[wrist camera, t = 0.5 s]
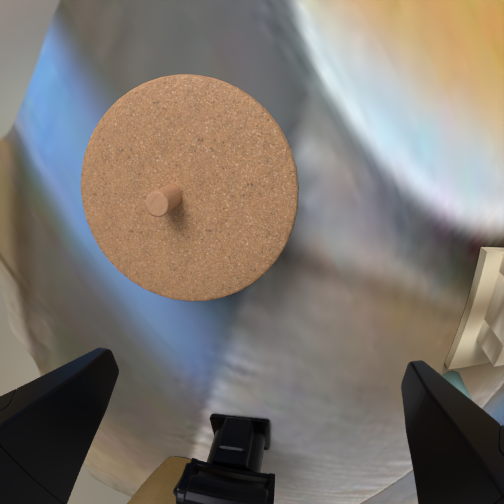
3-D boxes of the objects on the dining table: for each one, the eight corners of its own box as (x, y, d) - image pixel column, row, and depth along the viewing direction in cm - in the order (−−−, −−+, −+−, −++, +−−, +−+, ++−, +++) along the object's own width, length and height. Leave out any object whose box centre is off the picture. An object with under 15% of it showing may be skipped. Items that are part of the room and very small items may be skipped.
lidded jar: (331, 168, 18) (361, 197, 10) (227, 274, 22) (187, 358, 14) (208, 64, 17) (143, 21, 8) (122, 182, 21) (34, 217, 12)
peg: (453, 390, 24) (474, 445, 17) (429, 394, 25) (448, 453, 17) (463, 369, 23) (490, 426, 16) (439, 373, 24) (463, 433, 16)
